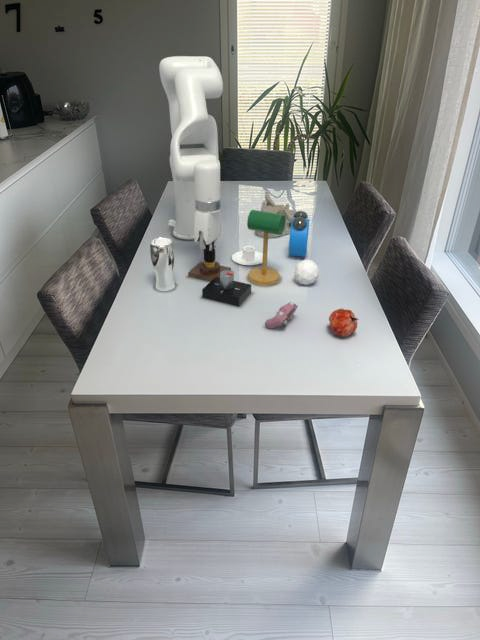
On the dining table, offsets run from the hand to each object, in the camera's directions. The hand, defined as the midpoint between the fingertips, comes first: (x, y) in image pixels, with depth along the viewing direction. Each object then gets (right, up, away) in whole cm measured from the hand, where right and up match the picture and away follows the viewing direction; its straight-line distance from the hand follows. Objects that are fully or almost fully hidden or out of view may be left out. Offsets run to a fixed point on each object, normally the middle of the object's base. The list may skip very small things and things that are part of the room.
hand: (209, 260), depth 147 cm
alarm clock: (+30, +4, +17) cm, 35 cm away
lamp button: (0, -2, +1) cm, 2 cm away
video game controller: (+21, -20, -20) cm, 36 cm away
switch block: (0, -4, +3) cm, 5 cm away
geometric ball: (+31, -7, -1) cm, 31 cm away
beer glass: (-14, -9, -4) cm, 17 cm away
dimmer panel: (+6, -12, -8) cm, 16 cm away
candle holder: (+13, +2, +13) cm, 18 cm away
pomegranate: (+37, -23, -24) cm, 49 cm away
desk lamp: (+17, -6, +1) cm, 18 cm away
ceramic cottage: (+24, +16, +36) cm, 46 cm away
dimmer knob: (+6, -9, -10) cm, 15 cm away
